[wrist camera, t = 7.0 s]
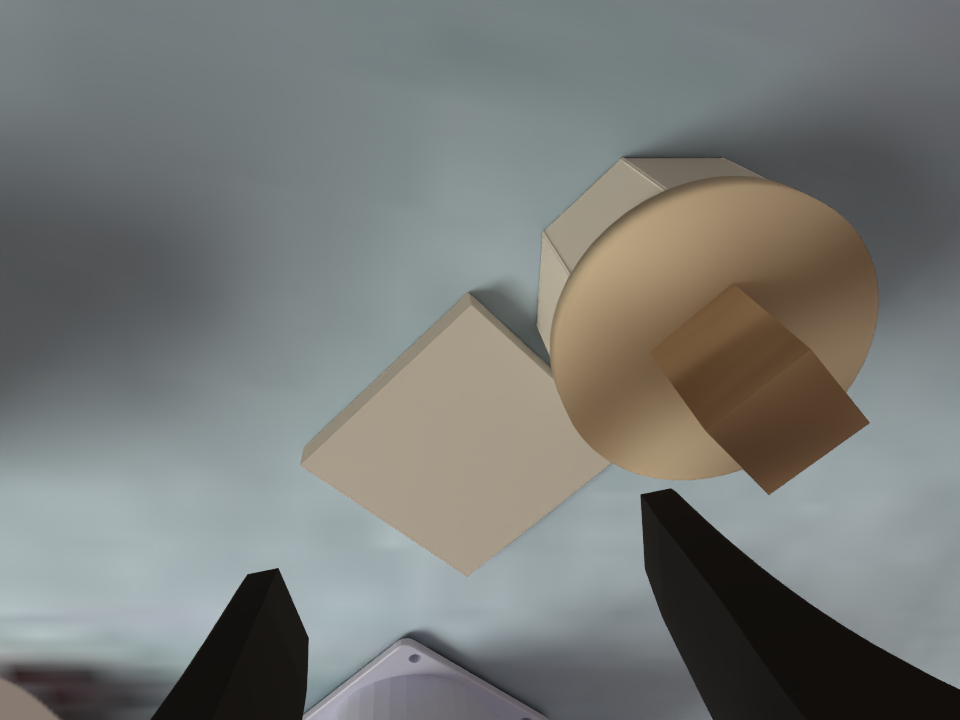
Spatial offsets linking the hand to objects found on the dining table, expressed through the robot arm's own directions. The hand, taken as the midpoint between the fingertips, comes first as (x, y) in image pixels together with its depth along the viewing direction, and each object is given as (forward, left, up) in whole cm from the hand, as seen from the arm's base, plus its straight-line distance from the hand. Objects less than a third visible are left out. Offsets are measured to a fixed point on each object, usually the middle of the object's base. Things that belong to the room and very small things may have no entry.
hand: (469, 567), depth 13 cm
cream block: (-3, +2, -10) cm, 11 cm away
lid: (-3, -6, -6) cm, 9 cm away
